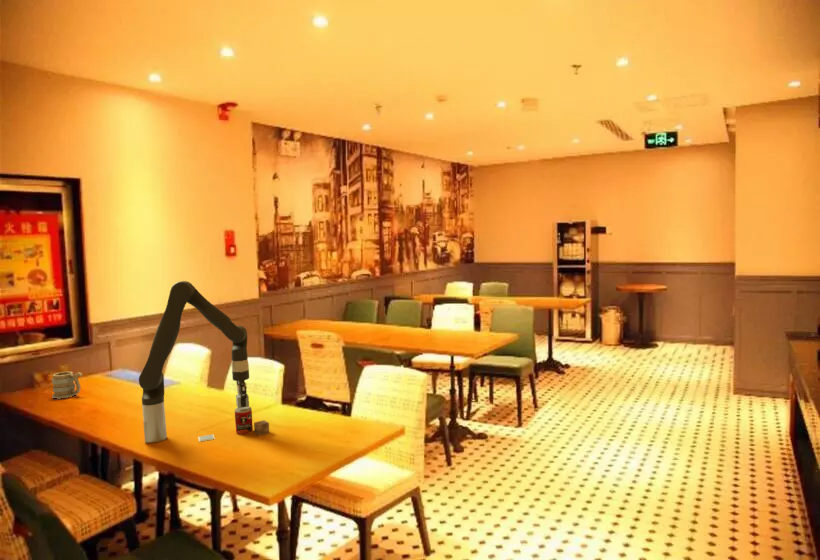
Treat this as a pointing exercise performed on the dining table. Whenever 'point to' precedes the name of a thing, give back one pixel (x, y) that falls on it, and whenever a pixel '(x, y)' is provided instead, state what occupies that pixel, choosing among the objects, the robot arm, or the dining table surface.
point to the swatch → (206, 438)
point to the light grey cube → (238, 401)
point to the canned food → (243, 420)
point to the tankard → (65, 384)
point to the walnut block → (261, 427)
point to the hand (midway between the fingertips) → (242, 405)
